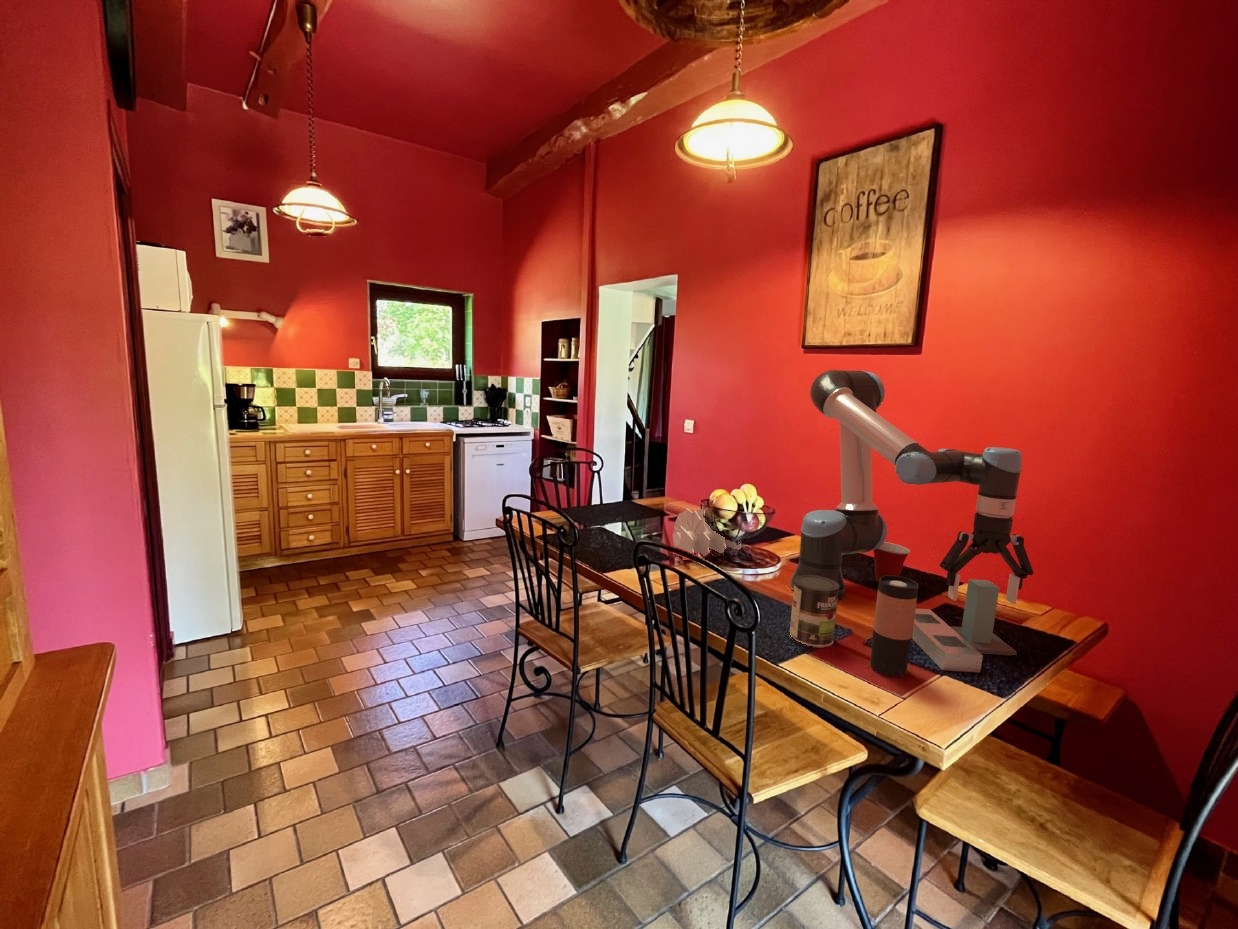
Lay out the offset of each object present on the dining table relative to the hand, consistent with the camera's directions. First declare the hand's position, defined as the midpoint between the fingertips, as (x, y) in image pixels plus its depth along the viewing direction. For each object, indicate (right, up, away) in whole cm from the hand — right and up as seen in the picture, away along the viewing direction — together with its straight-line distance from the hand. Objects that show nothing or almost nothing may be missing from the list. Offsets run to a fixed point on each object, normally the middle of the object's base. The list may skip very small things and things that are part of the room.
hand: (981, 600), depth 136 cm
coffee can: (-40, -9, +1) cm, 42 cm away
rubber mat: (0, -11, +2) cm, 11 cm away
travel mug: (-28, -12, -12) cm, 33 cm away
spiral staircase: (-57, +1, +57) cm, 81 cm away
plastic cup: (-4, -4, +40) cm, 40 cm away
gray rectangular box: (0, -10, +2) cm, 10 cm away
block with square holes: (-12, -11, -1) cm, 16 cm away
